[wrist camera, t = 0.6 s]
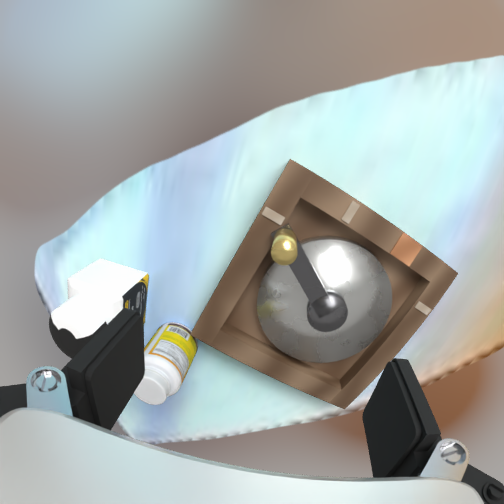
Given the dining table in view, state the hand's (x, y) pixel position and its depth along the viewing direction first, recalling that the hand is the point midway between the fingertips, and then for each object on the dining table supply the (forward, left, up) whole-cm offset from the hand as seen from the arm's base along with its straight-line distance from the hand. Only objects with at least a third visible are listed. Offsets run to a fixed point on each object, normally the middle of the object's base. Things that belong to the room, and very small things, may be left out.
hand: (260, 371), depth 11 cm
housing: (-8, +4, -22) cm, 24 cm away
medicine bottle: (+13, +16, -23) cm, 31 cm away
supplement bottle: (+4, +18, -23) cm, 29 cm away
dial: (-7, +3, -21) cm, 22 cm away
